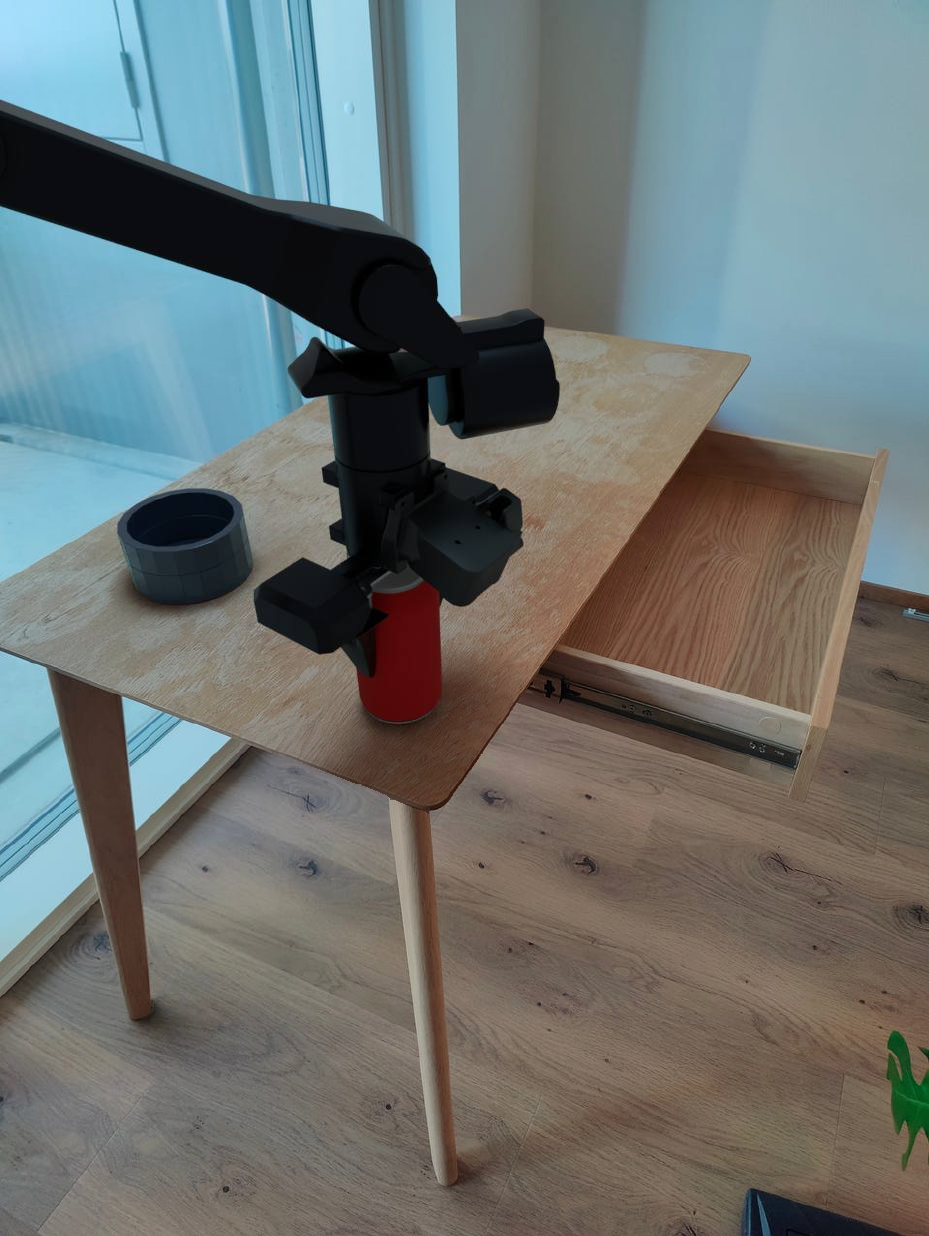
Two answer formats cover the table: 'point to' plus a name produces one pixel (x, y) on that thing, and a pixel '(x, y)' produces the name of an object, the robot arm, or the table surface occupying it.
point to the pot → (186, 545)
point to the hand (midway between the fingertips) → (397, 650)
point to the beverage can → (404, 651)
